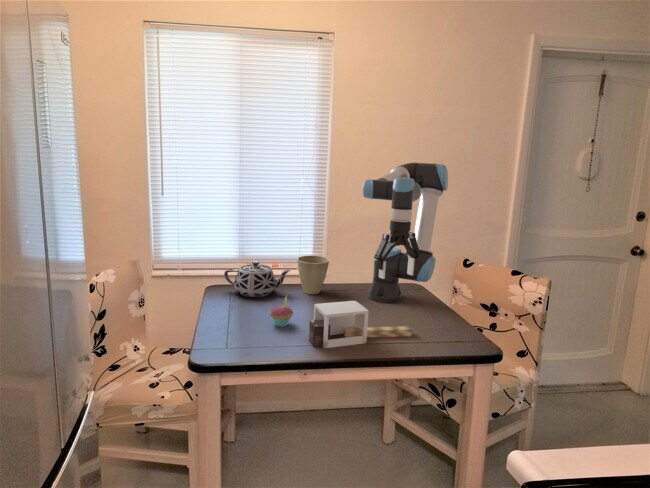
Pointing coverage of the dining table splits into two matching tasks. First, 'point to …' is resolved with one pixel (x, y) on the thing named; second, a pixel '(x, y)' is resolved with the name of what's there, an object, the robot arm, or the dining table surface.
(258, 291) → the teapot
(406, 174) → the robot arm
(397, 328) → the rod
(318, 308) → the tunnel
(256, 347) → the dining table surface
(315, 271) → the plant pot
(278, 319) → the cupcake
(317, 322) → the box
